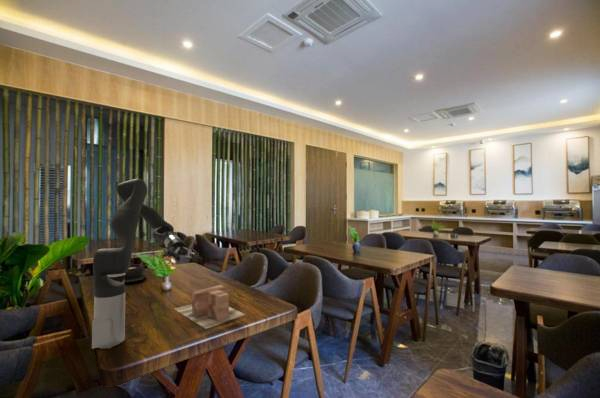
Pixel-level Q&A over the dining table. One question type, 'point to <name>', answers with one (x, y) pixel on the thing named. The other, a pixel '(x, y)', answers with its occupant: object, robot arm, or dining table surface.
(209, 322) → the board
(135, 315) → the dining table surface
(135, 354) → the dining table surface
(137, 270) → the casserole
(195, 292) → the T block
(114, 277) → the coffee mug
